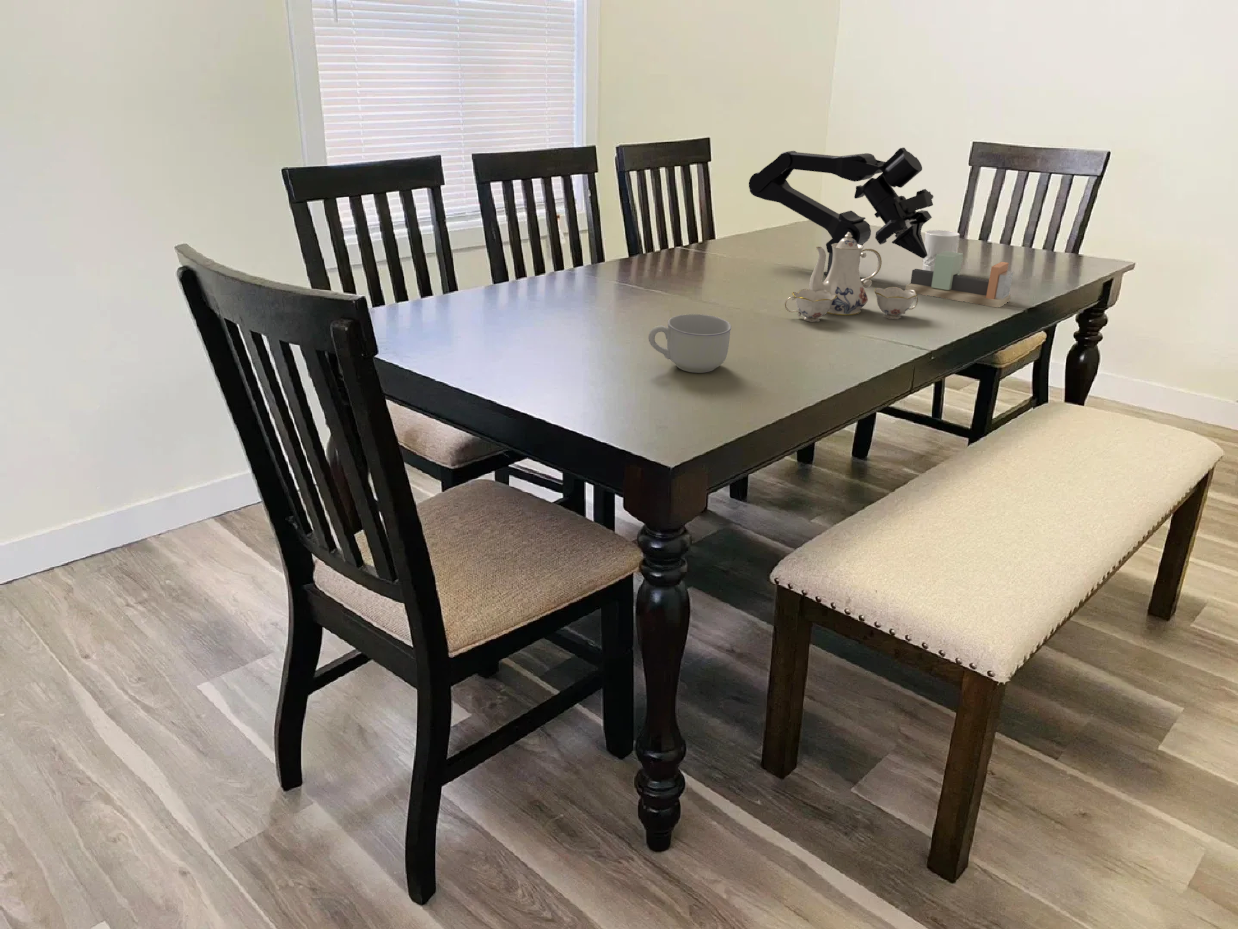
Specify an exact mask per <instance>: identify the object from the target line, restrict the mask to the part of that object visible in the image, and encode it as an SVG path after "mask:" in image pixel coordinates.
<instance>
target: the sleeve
mask: <svg viewBox="0 0 1238 929" xmlns="http://www.w3.org/2000/svg"><path fill="white" fill-rule="evenodd" d="M963 257H964V253H962V252H957V251H956V252H949V251H945V252H942V253H940V254H937V255H936V260H935V266H934V273H933V279H932V285H931V287H933V288H939V289H945V290H950V289H951V287H952V281H953V275H960V274H961V269H962V263H963ZM960 276H961V275H960Z"/></svg>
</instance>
